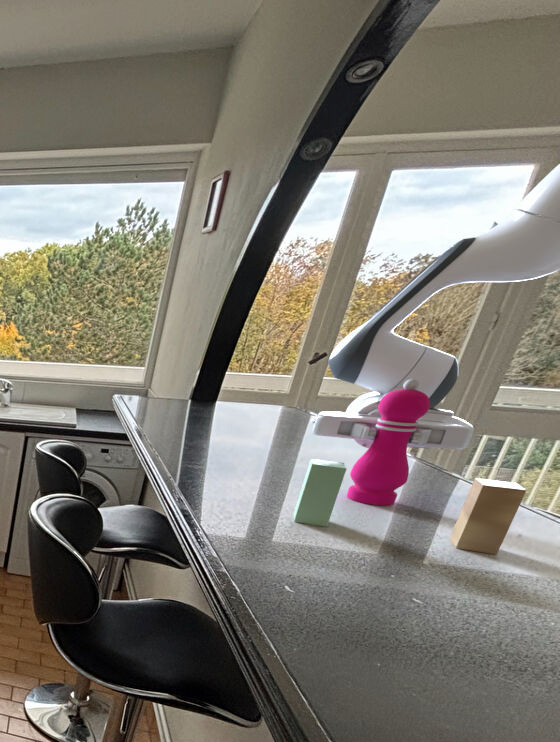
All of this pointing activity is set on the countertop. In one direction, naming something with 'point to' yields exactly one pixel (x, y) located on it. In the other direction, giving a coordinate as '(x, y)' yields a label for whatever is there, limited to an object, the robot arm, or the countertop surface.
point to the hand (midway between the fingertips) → (393, 436)
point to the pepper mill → (389, 447)
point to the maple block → (487, 515)
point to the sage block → (319, 492)
